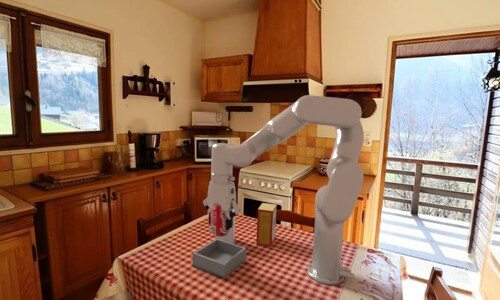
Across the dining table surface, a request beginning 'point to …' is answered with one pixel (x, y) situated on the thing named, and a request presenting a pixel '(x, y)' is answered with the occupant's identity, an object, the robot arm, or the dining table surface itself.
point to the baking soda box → (266, 224)
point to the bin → (219, 258)
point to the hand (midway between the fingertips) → (220, 225)
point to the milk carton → (230, 233)
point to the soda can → (218, 221)
